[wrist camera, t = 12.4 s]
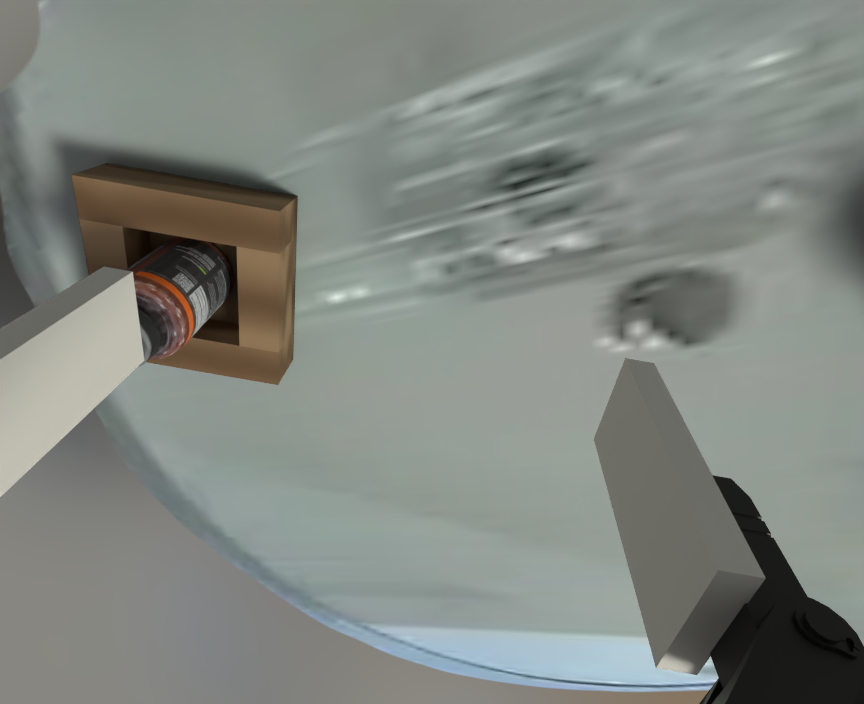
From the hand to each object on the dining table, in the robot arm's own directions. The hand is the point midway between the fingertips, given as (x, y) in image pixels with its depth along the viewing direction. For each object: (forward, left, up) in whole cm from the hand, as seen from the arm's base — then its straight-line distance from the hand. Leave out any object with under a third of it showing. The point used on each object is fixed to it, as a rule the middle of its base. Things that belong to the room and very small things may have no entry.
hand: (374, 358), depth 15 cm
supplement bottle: (+11, -17, -26) cm, 33 cm away
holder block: (+11, -17, -27) cm, 33 cm away
